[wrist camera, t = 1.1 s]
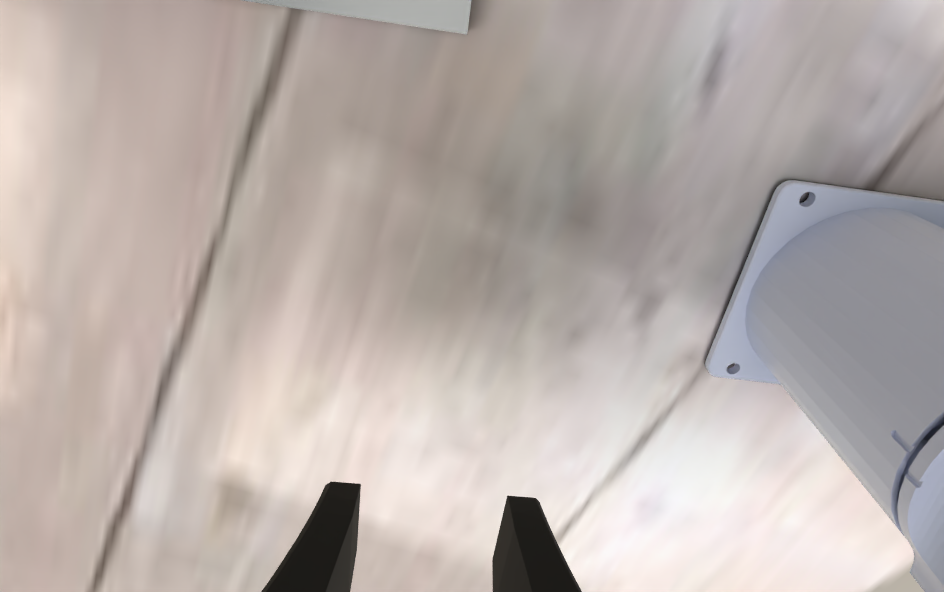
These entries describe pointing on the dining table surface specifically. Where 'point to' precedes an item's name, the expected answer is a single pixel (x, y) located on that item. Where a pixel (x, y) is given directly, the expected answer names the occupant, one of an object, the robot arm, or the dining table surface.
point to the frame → (392, 11)
